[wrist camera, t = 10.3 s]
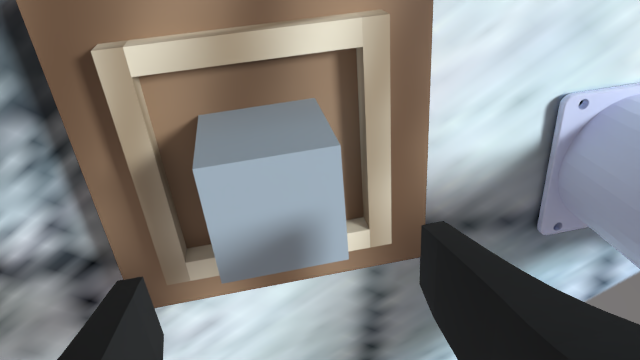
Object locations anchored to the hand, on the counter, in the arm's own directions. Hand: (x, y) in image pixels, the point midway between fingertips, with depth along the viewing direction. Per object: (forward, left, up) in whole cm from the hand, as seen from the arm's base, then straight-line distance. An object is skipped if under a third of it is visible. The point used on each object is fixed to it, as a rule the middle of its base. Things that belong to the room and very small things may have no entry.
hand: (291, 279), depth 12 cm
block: (0, 0, -8) cm, 8 cm away
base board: (0, 0, -9) cm, 9 cm away
